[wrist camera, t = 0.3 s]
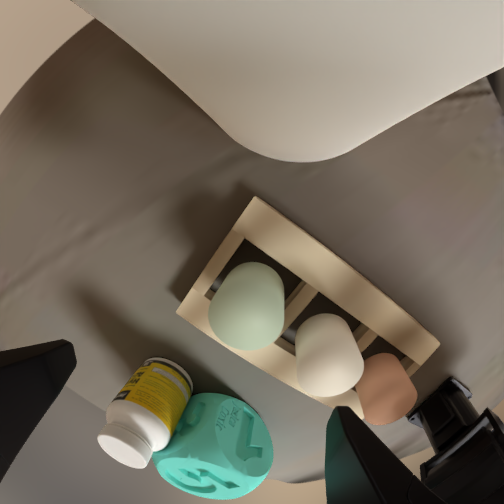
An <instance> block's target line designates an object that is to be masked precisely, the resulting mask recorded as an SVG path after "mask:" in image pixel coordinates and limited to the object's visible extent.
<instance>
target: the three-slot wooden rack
mask: <svg viewBox="0 0 504 504" xmlns="http://www.w3.org/2000/svg"><path fill="white" fill-rule="evenodd" d="M244 238H245V239H247V240H248V241H250V242H251V243H252V244H254V245H255V246H257V247H258V248H259V249H261V250H262V251H264V252H265V253H266V254H268V255H269V256H271V257H272V258H273V259H275V260H276V261H278V262H279V263H280V264H282V265H283V266H285V267H286V268H287V269H289V270H290V271H291V272H293V273H294V274H296V275H297V276H298V277H300V278H301V279H303V280H302V281H301V282H300V283H299V285H298V286H297V287H296V288H295V289H294V291H293V292H292V293H291V294H290V296H289V297H288V298H287V299H286V300H285V302H284V325H283V328H282V331H281V333H280V335H279V336H278V337H277V339H276V340H275V341H274V342H272V343H271V344H270V345H268V346H266V347H264V348H261V349H258V350H248V351H247V350H239V349H236V348H233V347H231V346H228V345H227V344H225V343H224V342H222V341H221V340H220V339H219V338H218V337H217V336H216V335H215V333H214V332H213V330H212V328H211V326H210V323H209V319H208V309H209V305H210V302H211V300H212V298H213V297H214V295H215V294H216V293H215V292H213V291H212V290H210V289H209V288H210V287H211V285H212V284H213V282H214V281H215V279H216V278H217V277H218V275H219V274H220V272H221V271H222V270H223V268H224V267H225V265H226V264H227V262H228V261H229V260H230V258H231V257H232V255H233V254H234V253H235V251H236V250H237V248H238V247H239V245H240V244H241V243H242V241H243V240H244ZM318 292H321V293H322V294H323V295H325V296H326V297H327V298H329V299H330V300H332V301H333V302H334V303H336V304H337V305H338V306H340V307H341V308H343V309H344V310H345V311H347V312H348V313H349V314H351V315H352V316H354V317H355V318H356V319H358V320H359V321H360V322H362V323H361V324H360V325H359V326H358V327H357V329H356V330H355V331H354V332H353V333H352V335H353V337H354V339H355V342H356V344H357V346H358V349H359V351H360V353H362V352H363V351H364V350H365V349H366V348H367V347H368V346H369V345H370V343H371V342H372V341H373V340H374V339H375V338H376V337H377V336H378V335H380V336H381V337H382V338H384V339H385V340H386V341H388V342H389V343H390V344H392V345H393V346H394V347H396V348H397V349H399V350H400V351H401V352H403V353H404V354H405V355H406V356H405V357H404V358H403V359H402V360H401V361H400V363H401V365H402V366H403V368H404V370H405V372H406V373H407V375H408V377H409V378H410V377H411V376H412V375H413V374H414V373H415V372H416V370H417V369H418V368H419V367H420V366H421V365H422V364H423V363H424V362H425V361H426V360H427V359H428V358H429V357H430V356H431V354H432V353H433V352H434V351H435V350H436V349H437V348H438V346H439V345H440V343H439V341H438V340H437V339H436V338H435V337H434V336H433V335H432V334H431V333H430V332H429V331H427V330H426V329H425V328H424V327H423V326H422V325H421V324H420V323H418V322H417V321H416V320H415V319H414V318H413V317H411V316H410V315H409V314H408V313H407V312H406V311H404V310H403V309H402V308H401V307H400V306H399V305H397V304H396V303H395V302H394V301H393V300H391V299H390V298H389V297H388V296H387V295H385V294H384V293H383V292H382V291H381V290H379V289H378V288H377V287H376V286H375V285H373V284H372V283H371V282H370V281H368V280H367V279H366V278H365V277H363V276H362V275H361V274H360V273H358V272H357V271H356V270H355V269H353V268H352V267H351V266H350V265H348V264H347V263H346V262H345V261H343V260H342V259H341V258H340V257H338V256H337V255H336V254H334V253H333V252H332V251H330V250H329V249H328V248H327V247H325V246H324V245H323V244H321V243H320V242H319V241H317V240H316V239H315V238H313V237H312V236H311V235H309V234H308V233H307V232H305V231H304V230H303V229H301V228H300V227H299V226H297V225H296V224H295V223H293V222H292V221H291V220H289V219H288V218H287V217H285V216H284V215H282V214H281V213H280V212H278V211H277V210H275V209H274V208H273V207H271V206H270V205H268V204H267V203H266V202H264V201H263V200H261V199H260V198H259V197H257V196H254V198H253V199H252V200H251V202H250V203H249V205H248V206H247V207H246V209H245V210H244V212H243V213H242V215H241V216H240V217H239V219H238V220H237V222H236V223H235V225H234V226H233V228H232V229H231V230H230V232H229V233H228V235H227V236H226V238H225V239H224V241H223V242H222V244H221V245H220V246H219V248H218V249H217V251H216V252H215V254H214V255H213V257H212V258H211V260H210V261H209V263H208V264H207V266H206V267H205V269H204V270H203V272H202V273H201V275H200V276H199V278H198V279H197V281H196V282H195V284H194V285H193V287H192V288H191V290H190V291H189V293H188V294H187V296H186V297H185V299H184V300H183V302H182V303H181V305H180V306H179V308H178V310H177V311H176V313H177V314H178V315H180V316H181V317H183V318H184V319H185V320H187V321H188V322H190V323H191V324H192V325H194V326H195V327H197V328H198V329H200V330H201V331H202V332H204V333H205V334H207V335H208V336H210V337H211V338H213V339H214V340H216V341H217V342H219V343H220V344H222V345H223V346H225V347H226V348H228V349H229V350H231V351H233V352H234V353H236V354H237V355H239V356H240V357H242V358H244V359H245V360H247V361H248V362H250V363H252V364H253V365H255V366H257V367H258V368H260V369H262V370H263V371H265V372H267V373H268V374H270V375H272V376H274V377H275V378H277V379H279V380H281V381H282V382H284V383H286V384H288V385H289V386H291V387H293V388H295V389H297V390H299V391H300V392H302V393H304V394H306V395H308V396H310V397H312V398H314V399H316V400H317V401H319V402H321V403H323V404H325V405H327V406H329V407H331V408H333V409H334V408H335V407H336V406H349V407H350V408H351V409H352V410H353V411H354V412H355V413H356V414H357V415H358V416H359V418H360V419H361V420H362V419H363V418H365V417H364V414H363V411H362V407H361V404H360V400H359V397H358V394H357V391H356V387H355V385H354V386H353V387H352V388H351V389H349V390H348V391H346V392H344V393H342V394H339V395H336V396H331V397H319V396H314V395H311V394H309V393H307V392H306V391H304V390H303V389H302V388H301V386H300V385H299V383H298V380H297V370H296V350H295V346H294V345H292V344H290V343H289V342H287V341H286V340H284V339H283V338H281V337H280V336H281V334H282V333H283V332H284V331H285V330H286V329H287V328H288V327H289V326H290V324H291V323H292V322H293V321H294V320H295V319H296V318H297V316H298V315H299V314H300V313H301V312H302V311H303V309H304V308H305V307H306V306H307V305H308V304H309V302H310V301H311V300H312V299H313V298H314V296H315V295H316V294H317V293H318Z"/></svg>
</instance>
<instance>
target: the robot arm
mask: <svg viewBox="0 0 504 504" xmlns="http://www.w3.org/2000/svg"><path fill="white" fill-rule="evenodd" d="M76 364H77V360H76V356H75V352H74V347H73V344H72V343H71V342H69V341H67V340H64V339H61V340H56V341H51V342H47V343H42V344H37V345H32V346H27V347H22V348H16V349H11V350H5V351H0V482H1V480H2V479H3V477H4V476H5V474H6V472H7V470H8V469H9V467H10V465H11V464H12V462H13V461H14V459H15V457H16V455H17V454H18V453H19V451H20V450H21V448H22V447H23V445H24V444H25V442H26V441H27V439H28V438H29V436H30V434H31V433H32V432H33V430H34V429H35V427H36V426H37V424H38V423H39V422H40V420H41V419H42V417H43V416H44V414H45V413H46V412H47V410H48V409H49V408H50V406H51V405H52V403H53V402H54V401H55V399H56V398H57V397H58V395H59V394H60V392H61V390H62V389H63V387H64V385H65V383H66V382H67V380H68V378H69V377H70V375H71V374H72V372H73V370H74V369H75V367H76ZM471 397H472V393H471V392H470V391H469V390H468V389H467V388H465V387H464V386H463V385H462V384H460V383H459V382H458V381H457V380H456V379H454V378H453V377H450V378H448V379H447V380H446V381H445V382H444V383H443V384H442V385H441V386H440V387H439V388H438V389H437V390H436V391H435V392H434V393H433V394H432V395H431V396H430V397H429V398H428V399H427V400H426V401H425V402H424V403H423V404H422V405H421V406H420V407H418V408H417V409H416V410H415V411H414V412H413V413H412V414H411V415H409V416H408V421H409V422H410V423H412V424H415V425H417V426H419V427H421V428H423V429H424V430H425V432H426V434H427V436H428V438H429V441H430V443H431V445H432V447H433V449H434V452H435V454H436V455H435V456H433V457H432V458H431V459H429V460H428V461H427V462H424V463H423V464H421V465H420V471H421V472H420V474H421V481H420V480H419V479H418V478H417V477H416V476H415V475H413V473H412V472H411V471H410V470H409V469H408V468H407V467H406V466H405V465H404V464H403V463H402V462H401V461H400V460H399V459H398V458H397V457H396V456H395V455H394V454H393V452H392V451H391V450H390V449H389V448H388V447H387V446H386V445H385V444H384V443H383V442H382V441H381V440H380V439H379V438H378V437H377V436H376V435H375V434H374V433H373V431H372V430H371V429H370V428H369V427H368V426H367V425H366V424H365V423H364V422H363V421H362V420H361V419H360V418H359V416H358V415H357V414H356V413H355V412H354V411H353V410H352V409H351V408H350V407H349V406H336V407H335V408H334V410H333V412H332V414H331V417H330V419H329V421H328V424H327V428H326V452H325V481H326V496H327V504H504V423H503V422H502V421H501V419H500V418H499V417H498V416H497V415H496V414H495V413H494V412H492V411H491V410H490V409H489V408H488V407H487V408H486V409H485V410H484V411H483V413H482V414H481V415H479V414H478V412H477V411H476V410H475V408H474V407H473V405H472V404H471V402H470V401H469V399H470V398H471ZM492 429H493V430H492ZM491 430H492V431H491Z"/></svg>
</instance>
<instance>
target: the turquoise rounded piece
mask: <svg viewBox="0 0 504 504" xmlns="http://www.w3.org/2000/svg"><path fill="white" fill-rule="evenodd" d="M152 459H153V462H154V464H155V466H156V468H157V470H158V472H159V473H160V475H161V476H162V477H163V478H164V479H165V480H166V481H167V482H169V483H170V484H172V485H173V486H175V487H177V488H179V489H181V490H183V491H185V492H187V493H190V494H193V495H197V496H200V497H205V498H210V499H234V498H239V497H241V496H243V495H245V494H247V493H249V492H251V491H252V490H254V489H255V488H256V487H257V486H258V485H259V484H260V483H261V482H262V481H263V480H264V479H265V477H266V476H267V474H268V472H269V470H270V468H271V465H272V462H273V445H272V441H271V437H270V435H269V432H268V430H267V428H266V426H265V424H264V422H263V421H262V419H261V418H260V416H259V415H258V414H257V413H256V412H255V411H254V410H253V409H252V408H251V407H250V406H249V405H248V404H246V403H245V402H243V401H241V400H238V399H236V398H234V397H231V396H228V395H224V394H218V393H200V394H196V395H194V396H191V397H190V399H189V401H188V403H187V405H186V407H185V409H184V412H183V414H182V416H181V418H180V420H179V422H178V424H177V426H176V428H175V430H174V432H173V435H172V437H171V439H170V441H169V443H168V445H167V446H166V447H165V448H164V449H162V450H159V451H154V452H153V454H152Z"/></svg>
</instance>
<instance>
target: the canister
mask: <svg viewBox="0 0 504 504" xmlns="http://www.w3.org/2000/svg"><path fill="white" fill-rule="evenodd" d="M71 1H72V2H74V3H75V4H77V5H78V6H79V7H81V8H82V9H84V10H85V11H87V12H88V13H89V14H91V15H92V16H93V17H95V18H96V19H97V20H99V21H100V22H101V23H103V24H104V25H105V26H107V27H108V28H109V29H110V30H112V31H113V32H114V33H116V34H117V35H118V36H119V37H121V38H122V39H123V40H124V41H126V42H127V43H128V44H129V45H131V46H132V47H133V48H134V49H135V50H137V51H138V52H139V53H140V54H141V55H143V56H144V57H145V58H146V59H147V60H148V61H150V62H151V63H152V64H153V65H154V66H155V67H157V68H158V69H159V70H160V71H161V72H162V73H163V74H164V75H166V76H167V77H168V78H169V79H170V80H171V81H172V82H173V83H175V84H176V85H177V86H178V87H179V88H180V89H181V90H182V91H183V92H184V93H185V94H186V95H188V96H189V97H190V98H191V99H192V100H193V101H194V102H195V103H196V104H197V105H198V106H199V107H200V108H201V109H202V110H203V111H204V112H205V113H207V114H208V115H209V116H210V117H211V118H212V119H213V120H214V121H215V122H216V123H217V124H218V125H219V126H220V127H221V128H222V129H223V130H224V131H225V132H226V133H227V134H228V135H229V136H230V137H231V138H233V139H234V140H235V141H236V142H238V143H239V144H241V145H242V146H244V147H246V148H248V149H249V150H251V151H253V152H256V153H258V154H260V155H263V156H266V157H269V158H273V159H277V160H282V161H288V162H315V161H322V160H327V159H330V158H334V157H337V156H339V155H342V154H344V153H346V152H348V151H350V150H352V149H354V148H355V147H357V146H359V145H360V144H362V143H364V142H365V141H367V140H369V139H370V138H372V137H374V136H376V135H377V134H379V133H381V132H382V131H384V130H386V129H388V128H389V127H391V126H393V125H395V124H396V123H398V122H400V121H402V120H403V119H405V118H407V117H409V116H411V115H412V114H414V113H416V112H418V111H420V110H421V109H423V108H425V107H427V106H429V105H431V104H432V103H434V102H436V101H438V100H440V99H442V98H444V97H445V96H447V95H449V94H451V93H453V92H455V91H457V90H459V89H461V88H463V87H464V86H466V85H468V84H470V83H472V82H474V81H476V80H478V79H480V78H482V77H484V76H486V75H488V74H490V73H492V72H494V71H496V70H498V69H500V68H503V67H504V0H71Z"/></svg>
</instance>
